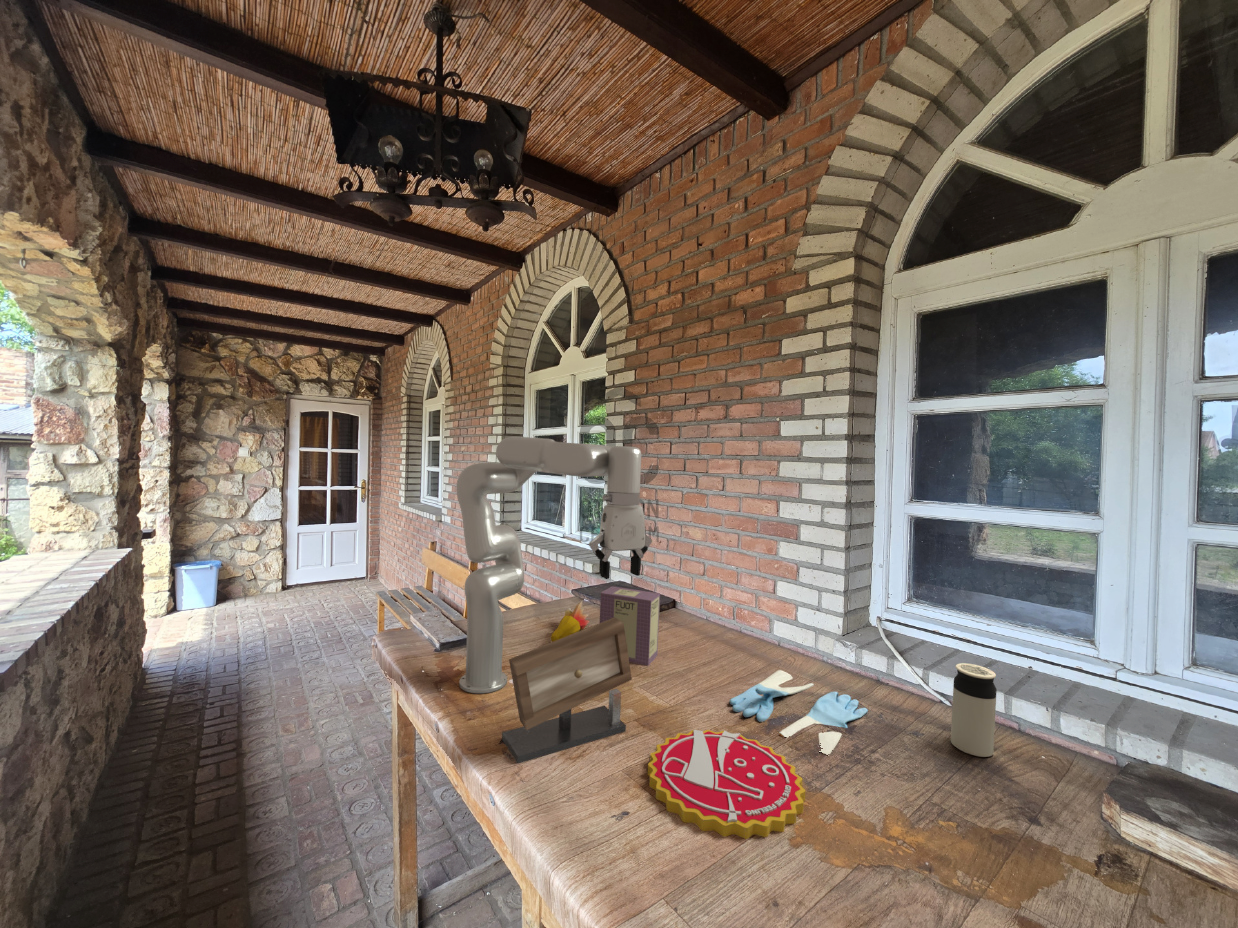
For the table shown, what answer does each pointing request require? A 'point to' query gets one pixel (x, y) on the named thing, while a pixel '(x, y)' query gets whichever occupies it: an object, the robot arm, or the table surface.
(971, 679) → the travel mug
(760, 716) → the rubber gloves
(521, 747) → the pivot stand
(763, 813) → the decorative sign
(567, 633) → the torch
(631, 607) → the box
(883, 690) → the table surface
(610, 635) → the wooden drawer
